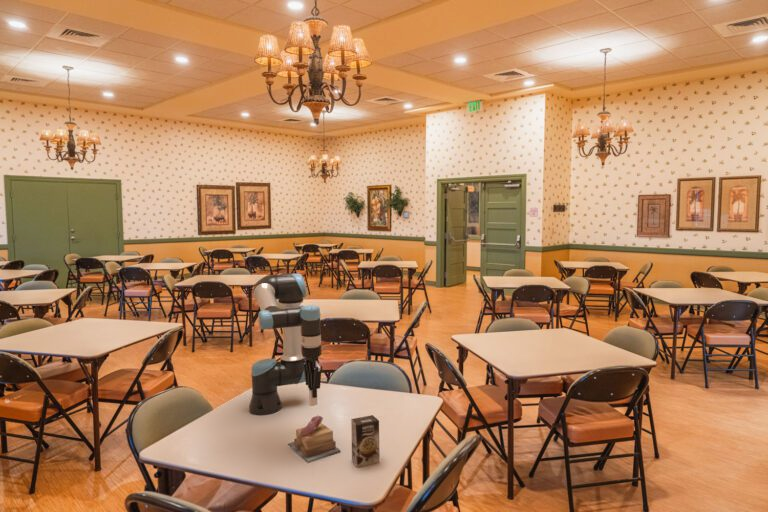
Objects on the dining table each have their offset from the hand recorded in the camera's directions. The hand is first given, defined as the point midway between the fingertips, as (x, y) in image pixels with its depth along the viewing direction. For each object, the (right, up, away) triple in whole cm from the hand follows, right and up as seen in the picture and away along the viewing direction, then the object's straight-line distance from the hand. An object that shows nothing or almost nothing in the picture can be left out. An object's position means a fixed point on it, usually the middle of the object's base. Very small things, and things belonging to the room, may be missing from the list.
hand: (313, 404), depth 192 cm
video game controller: (0, -11, 0) cm, 11 cm away
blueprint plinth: (0, -18, +2) cm, 18 cm away
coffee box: (+21, -19, -9) cm, 29 cm away
